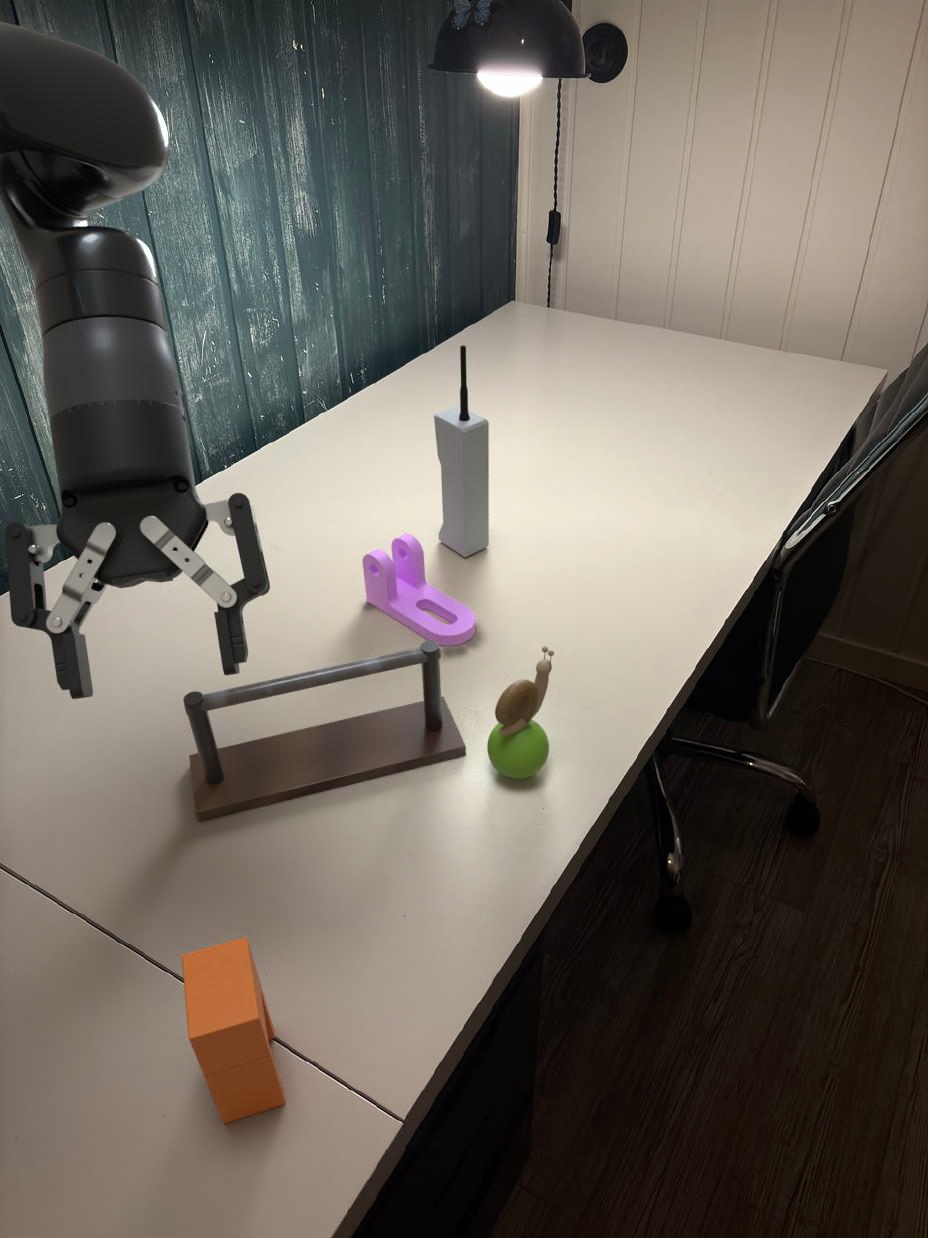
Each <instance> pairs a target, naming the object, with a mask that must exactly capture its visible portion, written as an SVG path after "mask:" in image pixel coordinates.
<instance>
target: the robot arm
mask: <svg viewBox="0 0 928 1238" xmlns="http://www.w3.org/2000/svg"><path fill="white" fill-rule="evenodd" d="M170 148H171V147H170V135H169V131H168V126H167V124H166V121H165V118H164V116H163V113H162V112H161V109H160V107H159V106H158V104H157V103H156V101H155V100H154V98H153V96H152V95H151V94H150V93H149V91H148V90H147V88H146V87H145V86H144V85H143V84H142V83H141V82H140V81H139V80H138V79H137V78H136V77H135V76H134V75H133V74H132V73H130V72H129V71H128V70H127V69H125V68H124V67H123V66H122V65H120V64H118V63H117V62H116V61H114V60H112V59H111V58H109V57H107V56H105V55H104V54H101V53H99V52H96V51H95V50H92V49H90V48H87V47H85V46H82V45H79V44H76V43H73V42H70V41H67V40H64V39H61V38H57V37H54V36H52V35H47V34H45V33H41V32H39V31H37V30H33V29H30V28H27V27H24V26H20V25H17V24H12V23H7V22H3V21H0V203H1V206H2V208H3V211H4V212H5V215H6V217H7V219H8V221H9V224H10V226H11V228H12V231H13V234H14V236H15V238H16V241H17V243H18V245H19V248H20V249H21V252H22V254H23V256H24V258H25V261H26V263H27V266H28V267H29V270H30V272H31V273H30V274H31V275H32V278H33V284H34V292H35V293H34V294H35V298H36V299H35V301H36V305H37V306H36V307H37V312H38V319H39V327H40V332H41V333H40V334H41V340H42V354H43V355H42V356H43V357H42V358H43V359H42V376H43V377H42V378H43V386H44V395H45V400H46V407H47V408H46V409H47V415H48V421H49V428H50V437H51V443H52V448H53V455H54V462H55V469H56V476H57V484H58V489H59V496H60V503H61V511H60V516H59V519H58V520H57V523H56V524H55V523H54V524H40V525H25V524H23V523H21V522H11V523H9V524H8V525H6V527H5V529H4V542H5V553H6V554H5V555H6V557H5V558H6V568H7V569H6V570H7V579H8V592H9V595H8V596H9V605H10V606H9V607H10V619H11V622H12V623H13V624H14V625H15V626H17V627H19V628H26V629H31V630H37V631H41V632H44V633H45V634H47V635H48V637H49V639H50V642H51V648H52V649H51V650H52V655H53V656H52V657H53V662H54V663H53V664H54V670H55V676H56V682H57V684H58V686H59V687H60V689H61V691H68V692H69V695H70V698H71V699H72V700H79V699H86V698H92V697H93V695H94V688H93V681H92V676H91V667H90V660H89V654H88V653H89V652H88V648H87V647H88V646H87V640H86V634H83V633H80V630H81V627H82V626H83V625H84V623H85V620H86V619H87V617H88V615H89V614H90V612H91V610H92V608H93V607H94V606H95V605H96V604H97V603H98V602H99V601H100V599H101V597H102V596H103V595H104V593H105V591H106V589H107V587H108V586H111V587H115V588H118V589H125V588H132V587H133V588H134V587H135V586H138V585H140V584H143V583H145V582H152V583H159V584H160V583H166V582H173V581H174V579H175V578H177V577H179V576H180V575H181V574H182V573H184V574H185V575H186V576H187V577H188V578H190V580H192V582H193V583H195V584H196V585H197V586H198V587H199V588H200V589H201V590H202V591H203V592H205V593H206V594H207V595H208V596H209V597H210V598H211V599H212V600H213V601H214V602H215V603H216V607H217V611H213V614H214V620H215V621H214V622H215V627H216V634H217V641H218V647H219V654H220V660H221V666H222V671H223V675H224V676H232V675H238V674H240V664H243V663H247V660H248V657H249V647H248V642H247V641H248V640H247V635H246V629H245V621H244V615H243V613H244V612H243V611H244V609H245V606H246V605H247V604H248V603H250V602H251V601H253V600H255V599H258V598H259V597H263V596H265V595H267V594H268V593H269V591H270V590H271V583H270V579H269V574H268V569H267V565H266V560H265V556H264V551H263V546H262V542H261V537H260V532H259V528H258V524H257V520H256V515H255V510H254V505H252V502H251V501H250V499H249V497H248V496H247V495H246V494H244V493H242V492H235V493H233V494H231V495H230V497H229V498H227V499H222V500H219V501H217V500H216V501H211V502H209V503H203V502H202V501H201V499H200V498H199V495H198V492H197V488H196V481H195V477H194V476H195V474H194V468H193V462H192V455H191V448H190V443H189V442H190V441H189V436H188V429H187V423H186V416H185V406H186V405H185V396H184V392H182V389H181V384H180V377H179V372H178V368H177V365H176V360H175V357H174V355H173V351H172V348H171V344H170V339H169V334H168V327H167V321H166V314H165V307H164V301H163V295H162V288H161V282H160V276H159V271H158V267H157V263H156V259H155V257H154V255H153V252H152V251H151V249H150V247H149V246H148V245H147V243H145V242H144V241H143V239H141V238H139V236H137V235H136V234H133V233H131V232H129V231H128V230H124V229H121V228H117V227H112V226H105V225H91V214H92V213H94V212H97V211H100V210H101V209H104V208H106V207H109V206H111V205H114V204H116V203H118V202H121V201H123V200H125V199H128V198H130V197H133V196H135V195H138V194H139V193H142V192H144V191H145V190H147V189H149V188H150V187H151V186H153V185H154V184H155V183H157V181H159V179H160V178H161V177H162V175H163V174H164V172H165V170H166V169H167V168H166V167H167V165H168V162H169V158H170ZM210 522H214V523H217V524H218V525H219V527H220V529H221V531H222V532H223V533H224V534H225V535H226V536H229V537H235V541H236V546H237V551H238V556H239V560H240V564H241V569H242V574H243V578H241V579H240V580H237V581H236V582H234V583H232V584H230V583H228V582H227V581H226V580H225V579H224V578H223V577H222V576H221V575H220V574H219V573H218V572H217V571H216V570H215V569H214V568H213V567H212V566H211V565H210V564H208V563H207V562H206V560H204V558H202V557H201V556H200V555H199V554H198V553H197V552H196V549H197V547H198V545H199V544H200V541H201V540H202V538H203V536H204V534H205V532H206V530H207V529H208V528H209V527H208V526H209V523H210ZM58 544H61V545H62V546H63V547H64V548H65V549H66V550H67V551H68V552H69V553H70V554H71V555H72V556H73V557H74V558H75V559H76V560H77V561H76V562H75V564H74V566H73V568H72V569H71V570H70V572H69V574H68V576H67V578H66V579H65V581H64V583H63V585H62V588H61V590H62V592H61V594H60V595H59V596H58V599H57V600H56V602H55V604H54V606H53V607H52V609H51V610H49V609H48V608H47V593H46V582H45V569H44V564H45V563H48V562H49V561H50V560H51V559H52V557H53V553H54V552H53V551H54V548H55V547H56V545H58Z"/></svg>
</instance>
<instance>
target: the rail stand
mask: <svg viewBox="0 0 928 1238" xmlns="http://www.w3.org/2000/svg"><path fill="white" fill-rule="evenodd" d="M441 659H442V652H441V648H440V645H438V643H437V642H435V641H431V640H425V641H423V642H422V643H421V644H420V646H418V647H414V648H409V649H405V650H401V651H396V652H391V653H387V654H382V655H378V656H377V655H376V656H373V657H368V658H363V659H359V660H354V661H349V662H345V663H341V664H336V665H331V666H327V667H322V668H318V669H314V670H308V671H304V672H300V673H295V674H292V675H286V676H281V677H277V678H273V679H272V678H271V679H266V680H262V681H259V682H258V681H257V682H254V683H248V684H243V685H239V686H235V687H231V688H226V689H221V690H217V691H214V692H213V691H212V692H208V693H202V692H200V691H199V690H198V691H197V690H196V691H190V692H187V694H185V695H184V696H183V699H182V700H183V706H184V711H185V714H186V715H187V718H188V721H189V725H190V729H191V732H192V736H193V739H194V743H195V747H196V748H197V749H196V750H197V753H193V754H189V756H188V757H189V767H190V776H191V783H192V793H193V801H194V810H195V815H196V819H197V821H198V822H202V821H206V820H210V819H214V818H219V817H222V816H223V817H224V816H227V815H231V814H234V813H239V812H242V811H246V810H247V811H248V810H252V809H255V808H259V807H262V806H263V807H264V806H266V805H271V804H275V803H278V802H282V801H286V800H291V799H295V798H299V797H303V796H307V795H310V794H311V795H312V794H315V793H319V792H323V791H328V790H330V789H331V790H332V789H334V788H339V787H343V786H348V785H351V784H354V783H359V782H364V781H368V780H371V779H375V778H379V777H383V776H388V775H392V774H395V773H399V772H403V771H407V770H411V769H415V768H419V767H424V766H426V765H431V764H435V763H439V762H443V761H447V760H451V759H455V758H460V757H463V756H464V757H465V756H466V755H467V748H466V747H467V746H466V743H465V742H464V739H463V736H462V735H461V732H460V730H459V727H458V726H457V724H456V721H455V719H454V716H453V714H452V712H451V710H450V707H449V705H448V703H447V701H446V698H445V696H442V684H441V661H440V660H441ZM420 664H421V678H422V681H421V682H422V694H423V700H422V701H421V700H420V701H416V702H412V703H409V704H405V705H399V706H396V707H392V708H387V709H383V710H378V711H374V712H370V713H364V714H361V715H357V716H352V717H348V718H343V719H340V720H335V721H330V722H326V723H322V724H318V725H313V726H309V727H305V728H301V729H295V730H292V731H287V732H284V733H279V734H275V735H270V736H265V737H261V738H257V739H253V740H249V741H244V742H240V743H237V744H232V745H228V746H227V745H226V746H223V747H218V745H217V741H216V737H215V734H214V730H213V727H212V722H211V719H210V715H209V712H208V711H213V710H217V709H222V708H227V707H231V706H236V705H240V704H245V703H249V702H253V701H258V700H262V699H267V698H271V697H275V696H276V697H277V696H281V695H286V694H289V693H295V692H299V691H303V690H308V689H313V688H316V687H321V686H325V685H331V684H335V683H339V682H343V681H349V680H352V679H357V678H362V677H367V676H371V675H375V674H381V673H384V672H389V671H393V670H399V669H402V668H406V667H411V666H415V665H420Z"/></svg>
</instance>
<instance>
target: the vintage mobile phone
mask: <svg viewBox="0 0 928 1238" xmlns="http://www.w3.org/2000/svg"><path fill="white" fill-rule="evenodd" d="M459 355H460V356H459V357H460V360H459V361H460V388H459V404H458V405H456V406H453V407H450V408H448V409H446V410H442V411H441V412H438V413H434V415H433V421H434V432H435V441H436V442H435V444H436V452H437V457H438V461H439V464H440V475H441V479H440V480H441V502H442V504H441V505H442V525H441V527H440V529H439V532H438V540H439V542H440V543H442V544H443V545H445V546H446V547H448V548H450V549H452V550H453V551H454V552H456V553H457V554H459V555H460V556H462V557H463V558H467V557H470V556H471V555H474V554H476V553H477V552H481V551H482V550H484V549H486V548H488V546H489V545H490V537H489V535H490V534H489V532H490V531H489V530H490V522H489V521H490V519H489V517H490V514H489V513H490V512H489V511H490V510H489V509H490V503H489V502H490V501H489V499H490V498H489V497H490V494H489V493H490V492H489V491H490V486H489V485H490V484H489V482H490V480H489V479H490V475H489V474H490V473H489V472H490V469H489V465H490V464H489V461H490V459H489V458H490V456H489V455H490V453H489V451H490V450H489V448H490V447H489V445H490V442H489V441H490V440H489V439H490V435H489V434H490V432H489V431H490V430H489V429H490V428H489V427H490V426H489V424H490V422H489V420H487V418H485V417H483V416H481V415H479V414H477V413H475V412H473V411H471V410H469V390H468V386H467V385H468V384H467V346H466V345H464V344H463V345H460V346H459Z"/></svg>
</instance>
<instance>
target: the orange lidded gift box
mask: <svg viewBox="0 0 928 1238" xmlns="http://www.w3.org/2000/svg"><path fill="white" fill-rule="evenodd" d="M254 959H255V958H254V956H253V953H252V949H251V946H250V942H249V939H248V937H247V936H244V937H241V938H237V939H233V940H230V941H226V942H223V943H219V944H215V945H212V946H209V947H205V948H202V949H198V950H195V951H190V952H187V953H183V954H182V955H181V963H182V975H183V988H184V998H185V1009H186V1021H187V1033H188V1035H187V1036H188V1040H189V1044H190V1045H191V1048H192V1050H193V1053H194V1055H195V1058H196V1059H197V1062H198V1065H199V1067H200V1070H201V1072H202V1075H203V1077H204V1080H205V1082H206V1084H207V1086H208V1089H209V1092H210V1094H211V1096H212V1099H213V1101H214V1103H215V1106H216V1109H217V1111H218V1112H219V1116H220V1119H221V1121H222V1123H223V1124H228V1123H231V1122H234V1121H237V1120H240V1119H243V1118H246V1117H249V1116H252V1115H255V1114H259V1113H262V1112H264V1111H268V1110H272V1109H274V1108H277V1107H280V1106H283V1105H286V1097H285V1092H284V1087H283V1084H282V1081H281V1078H280V1074H279V1071H278V1068H277V1064H276V1061H275V1057H274V1055H273V1051H272V1048H271V1045H270V1041H271V1040H274V1039H275V1038H276V1036H275V1029H274V1024H273V1021H272V1017H271V1013H270V1011H269V1006H268V1004H267V1001H266V997H265V993H264V990H263V986H262V983H261V980H260V976H259V974H258V970H257V967H256V963H255V960H254Z"/></svg>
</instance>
